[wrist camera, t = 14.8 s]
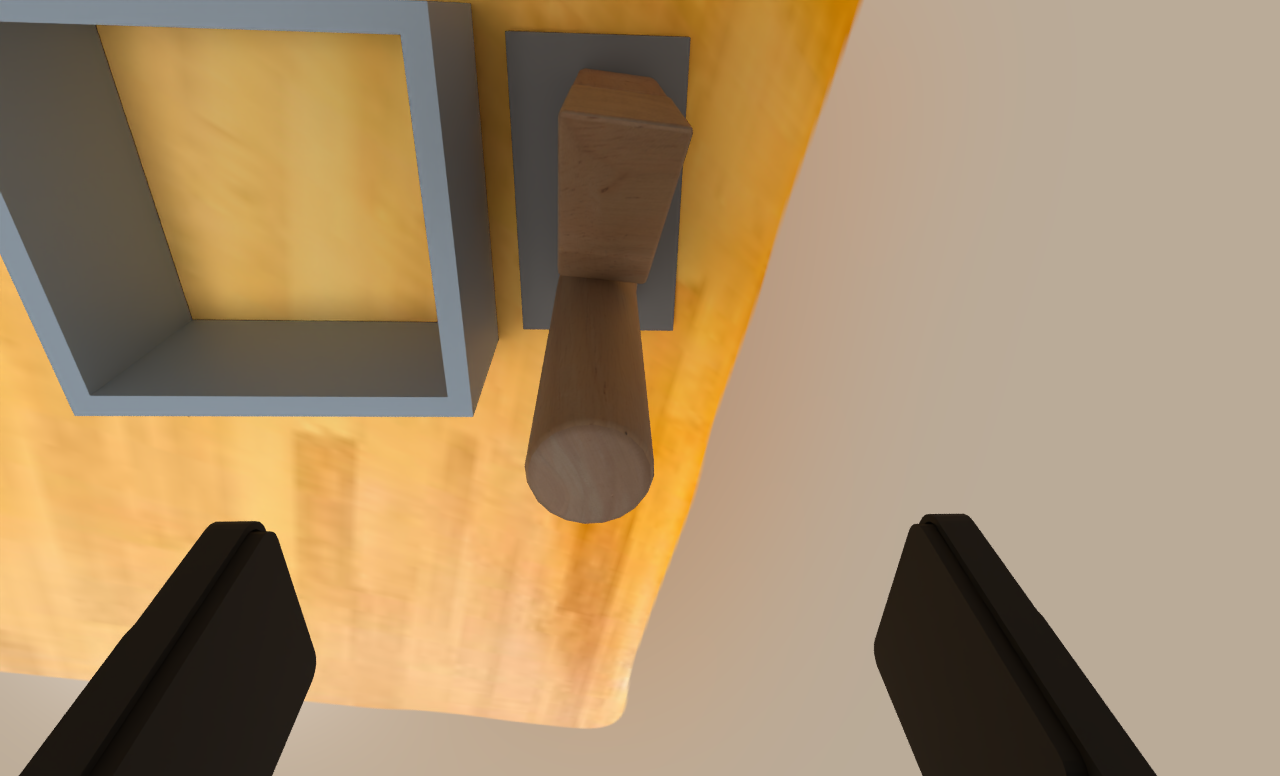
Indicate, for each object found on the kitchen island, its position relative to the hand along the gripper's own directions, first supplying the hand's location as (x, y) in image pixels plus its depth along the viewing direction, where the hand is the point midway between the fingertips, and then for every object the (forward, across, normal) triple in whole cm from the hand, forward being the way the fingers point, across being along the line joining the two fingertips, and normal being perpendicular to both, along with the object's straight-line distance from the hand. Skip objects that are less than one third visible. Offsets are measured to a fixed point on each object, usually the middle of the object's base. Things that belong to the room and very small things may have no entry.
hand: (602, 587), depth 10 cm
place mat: (+26, 0, +1) cm, 26 cm away
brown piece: (+25, 0, 0) cm, 25 cm away
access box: (+26, +14, +1) cm, 30 cm away
